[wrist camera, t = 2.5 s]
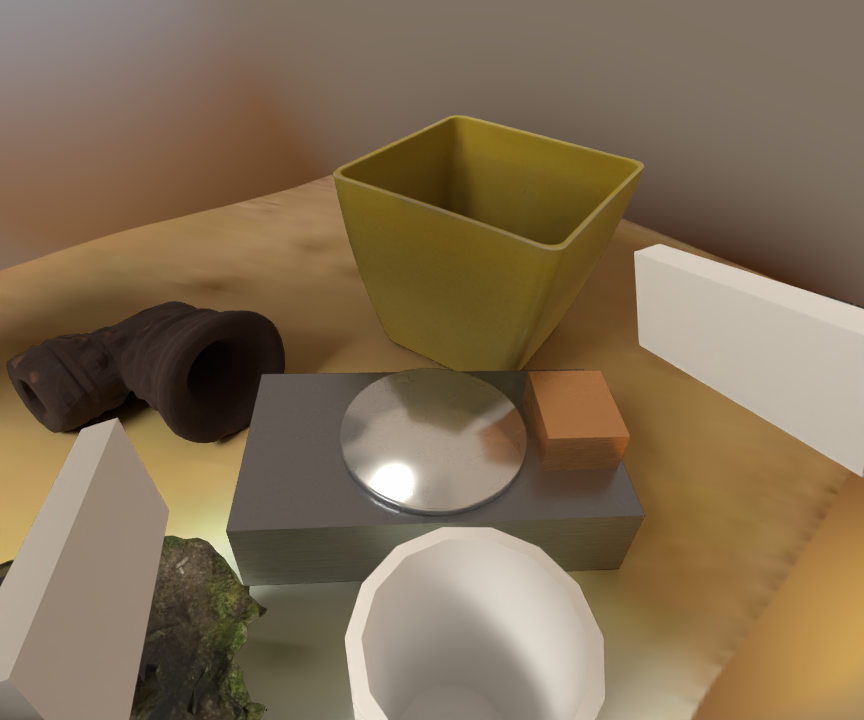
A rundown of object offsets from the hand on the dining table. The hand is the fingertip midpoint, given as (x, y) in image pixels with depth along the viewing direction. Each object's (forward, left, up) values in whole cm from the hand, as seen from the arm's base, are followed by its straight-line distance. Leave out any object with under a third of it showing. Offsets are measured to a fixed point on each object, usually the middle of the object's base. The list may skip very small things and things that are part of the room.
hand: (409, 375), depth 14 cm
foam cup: (+3, -1, -25) cm, 25 cm away
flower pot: (+9, +34, -25) cm, 43 cm away
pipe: (-19, +25, -25) cm, 40 cm away
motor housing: (+3, +15, -25) cm, 29 cm away
